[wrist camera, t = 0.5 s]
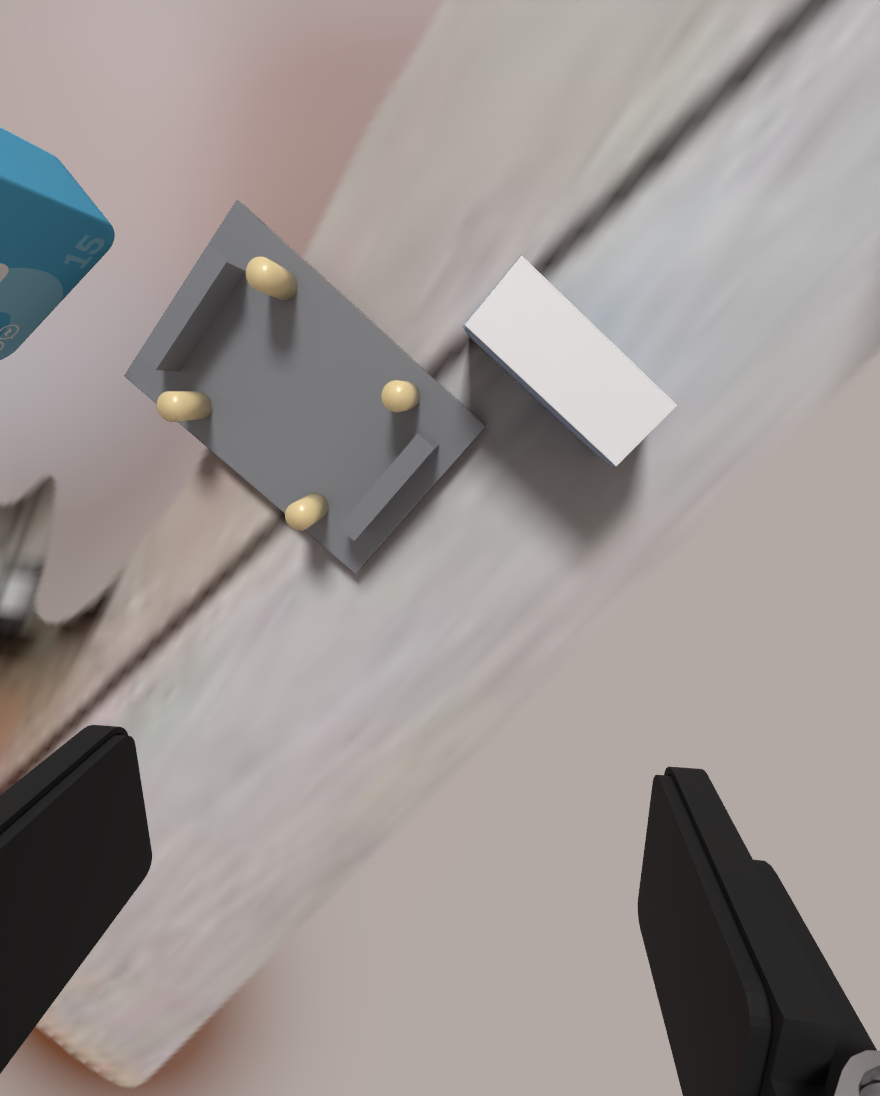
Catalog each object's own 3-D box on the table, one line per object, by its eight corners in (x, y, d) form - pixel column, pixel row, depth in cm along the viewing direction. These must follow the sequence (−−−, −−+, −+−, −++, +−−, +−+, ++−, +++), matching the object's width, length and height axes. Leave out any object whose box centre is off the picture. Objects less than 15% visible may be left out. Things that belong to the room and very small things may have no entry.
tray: (244, 205, 31) (208, 179, 28) (485, 425, 33) (483, 430, 29) (134, 376, 35) (88, 374, 31) (359, 568, 36) (342, 589, 33)
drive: (518, 278, 31) (521, 252, 25) (648, 402, 32) (680, 404, 26) (469, 336, 32) (461, 325, 26) (596, 456, 33) (616, 469, 27)
